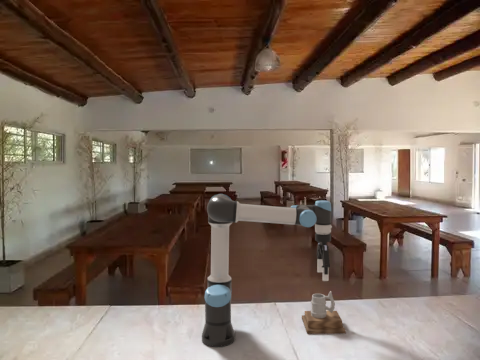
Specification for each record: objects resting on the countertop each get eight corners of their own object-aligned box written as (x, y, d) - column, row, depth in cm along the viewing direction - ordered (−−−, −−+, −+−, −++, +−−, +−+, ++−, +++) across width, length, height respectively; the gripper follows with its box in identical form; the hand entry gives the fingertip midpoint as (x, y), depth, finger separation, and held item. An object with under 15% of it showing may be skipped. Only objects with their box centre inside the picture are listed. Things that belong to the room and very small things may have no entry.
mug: (308, 312, 206) (308, 289, 205) (332, 311, 207) (332, 288, 206) (312, 319, 198) (312, 294, 197) (337, 318, 199) (337, 293, 198)
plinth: (307, 333, 194) (307, 323, 193) (301, 318, 212) (301, 308, 211) (345, 333, 194) (345, 323, 193) (337, 318, 212) (337, 308, 211)
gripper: (336, 238, 187) (336, 284, 188) (325, 227, 212) (325, 268, 213) (320, 238, 187) (319, 284, 188) (311, 228, 212) (310, 268, 213)
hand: (322, 276), depth 201 cm, fingers open, 13 cm apart
